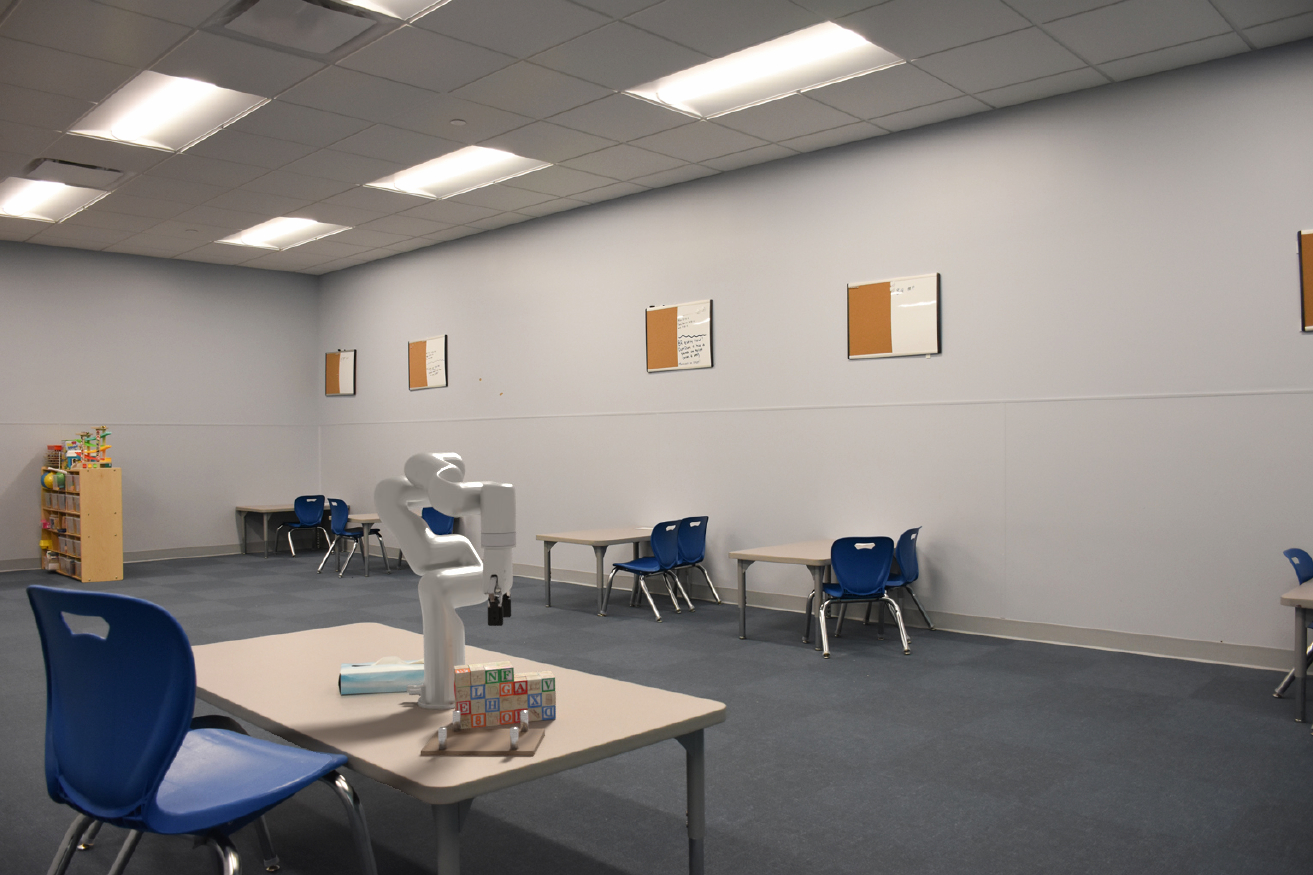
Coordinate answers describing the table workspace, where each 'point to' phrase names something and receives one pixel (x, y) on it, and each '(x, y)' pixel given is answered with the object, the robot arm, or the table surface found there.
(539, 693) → the stack of blocks
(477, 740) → the pin board
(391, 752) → the table surface
